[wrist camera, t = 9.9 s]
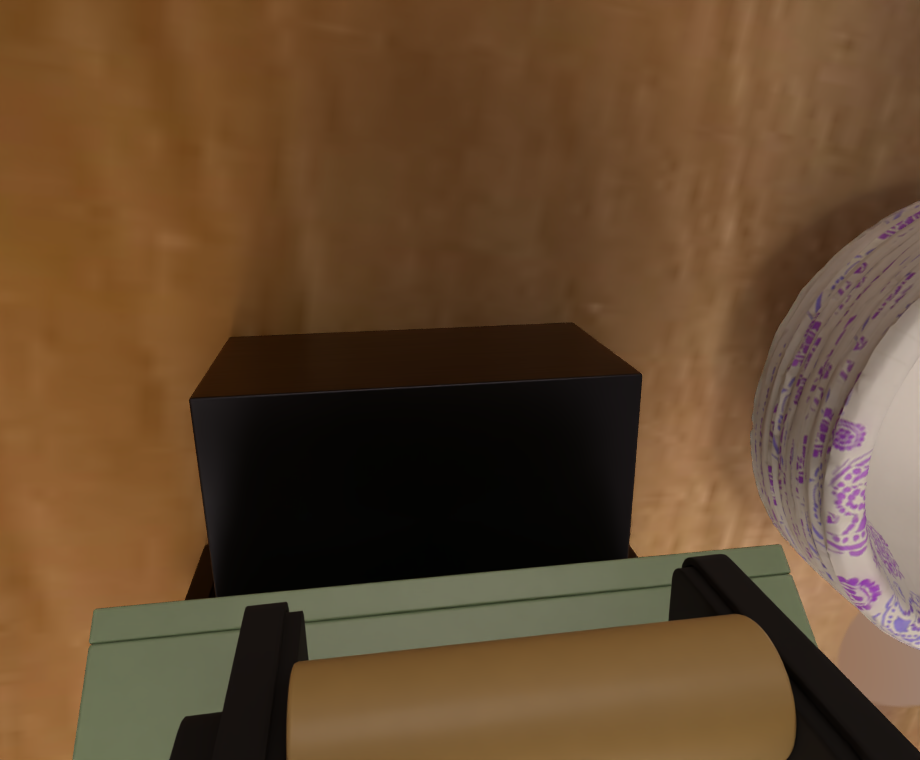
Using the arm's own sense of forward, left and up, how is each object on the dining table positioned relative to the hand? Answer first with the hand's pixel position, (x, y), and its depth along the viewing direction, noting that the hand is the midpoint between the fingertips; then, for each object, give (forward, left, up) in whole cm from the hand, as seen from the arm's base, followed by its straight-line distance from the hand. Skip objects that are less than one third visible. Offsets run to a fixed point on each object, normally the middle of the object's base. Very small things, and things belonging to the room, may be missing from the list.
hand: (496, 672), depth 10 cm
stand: (0, +3, -16) cm, 16 cm away
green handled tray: (0, +2, -4) cm, 5 cm away
